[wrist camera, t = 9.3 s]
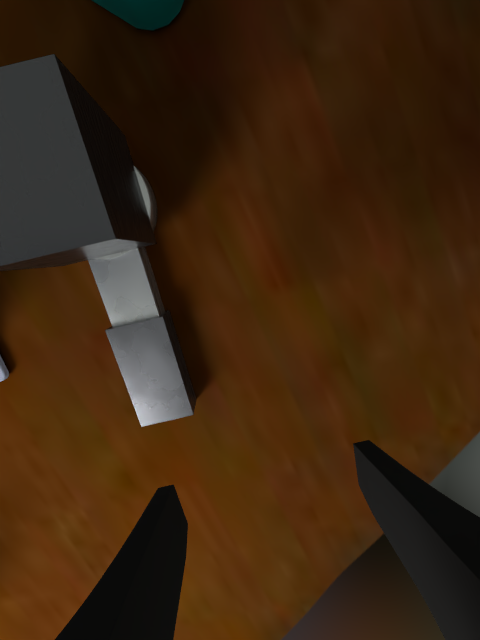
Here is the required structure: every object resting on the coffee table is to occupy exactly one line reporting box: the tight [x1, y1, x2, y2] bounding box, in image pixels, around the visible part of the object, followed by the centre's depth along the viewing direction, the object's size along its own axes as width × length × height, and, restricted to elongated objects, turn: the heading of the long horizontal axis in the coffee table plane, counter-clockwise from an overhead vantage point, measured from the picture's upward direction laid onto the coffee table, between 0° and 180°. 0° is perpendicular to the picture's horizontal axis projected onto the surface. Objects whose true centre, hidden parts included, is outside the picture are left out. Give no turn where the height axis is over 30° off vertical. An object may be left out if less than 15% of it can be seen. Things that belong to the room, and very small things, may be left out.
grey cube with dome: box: [0, 54, 157, 271], centre depth 12 cm, size 6×6×6 cm
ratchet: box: [88, 166, 196, 426], centre depth 15 cm, size 17×6×5 cm, turn 13°
